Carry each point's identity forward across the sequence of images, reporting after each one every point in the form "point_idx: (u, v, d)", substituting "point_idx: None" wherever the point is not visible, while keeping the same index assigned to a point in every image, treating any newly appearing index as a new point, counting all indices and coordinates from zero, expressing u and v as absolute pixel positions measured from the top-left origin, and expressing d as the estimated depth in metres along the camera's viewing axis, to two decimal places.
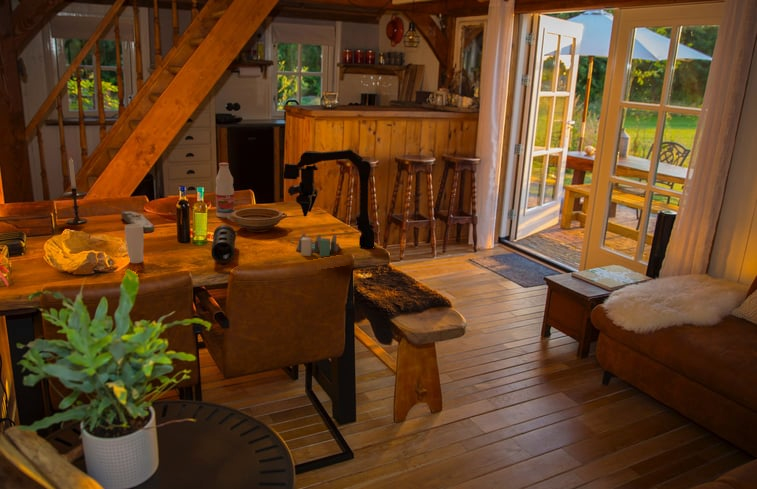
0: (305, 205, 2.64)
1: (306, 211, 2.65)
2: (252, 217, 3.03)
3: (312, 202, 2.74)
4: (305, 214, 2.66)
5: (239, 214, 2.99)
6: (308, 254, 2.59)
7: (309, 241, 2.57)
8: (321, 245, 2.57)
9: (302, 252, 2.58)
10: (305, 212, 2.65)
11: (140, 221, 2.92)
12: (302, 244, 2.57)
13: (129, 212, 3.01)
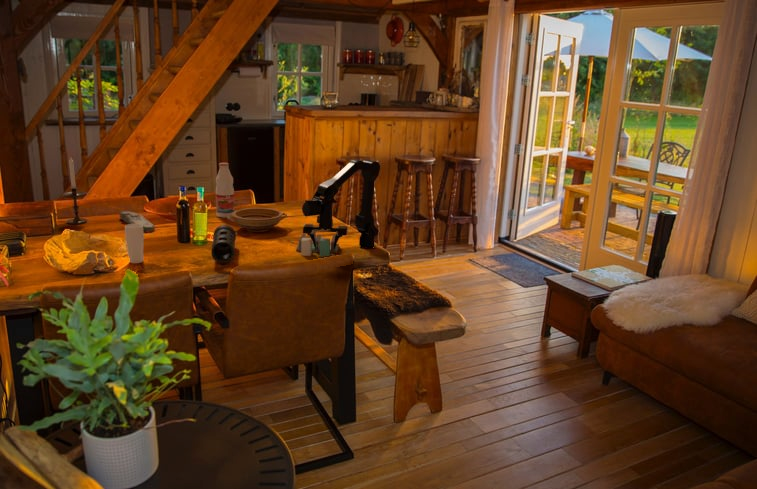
0: None
1: None
2: (252, 217, 3.03)
3: None
4: None
5: (239, 214, 2.99)
6: (308, 255, 2.59)
7: (309, 241, 2.57)
8: (321, 245, 2.57)
9: (302, 252, 2.58)
10: None
11: (140, 221, 2.92)
12: (302, 244, 2.57)
13: (128, 212, 3.00)
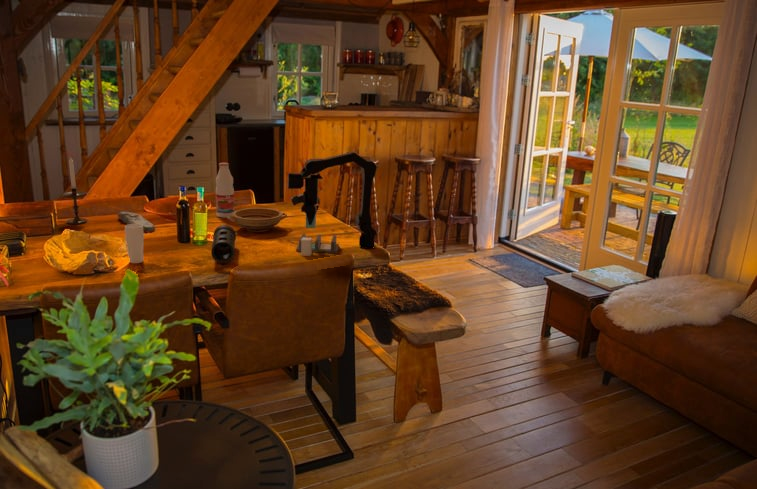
0: (310, 213, 2.61)
1: (311, 219, 2.62)
2: (252, 217, 3.03)
3: None
4: (310, 222, 2.63)
5: (239, 214, 2.99)
6: (308, 254, 2.59)
7: (309, 241, 2.57)
8: (315, 217, 2.63)
9: (302, 252, 2.58)
10: (310, 221, 2.62)
11: (139, 221, 2.91)
12: (302, 244, 2.57)
13: (126, 212, 3.00)
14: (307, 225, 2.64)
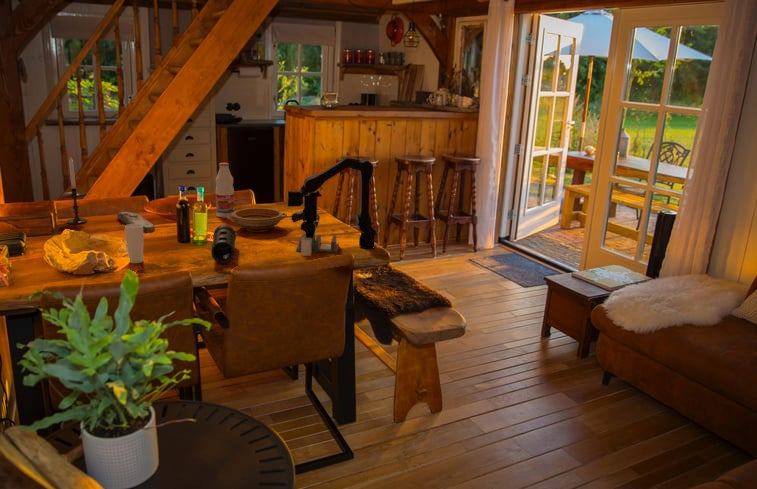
0: (309, 232, 2.62)
1: None
2: (252, 217, 3.03)
3: None
4: None
5: (239, 214, 2.99)
6: (308, 254, 2.59)
7: (309, 241, 2.57)
8: (314, 236, 2.66)
9: (302, 252, 2.58)
10: None
11: (139, 221, 2.91)
12: (302, 244, 2.57)
13: (126, 212, 3.00)
14: None
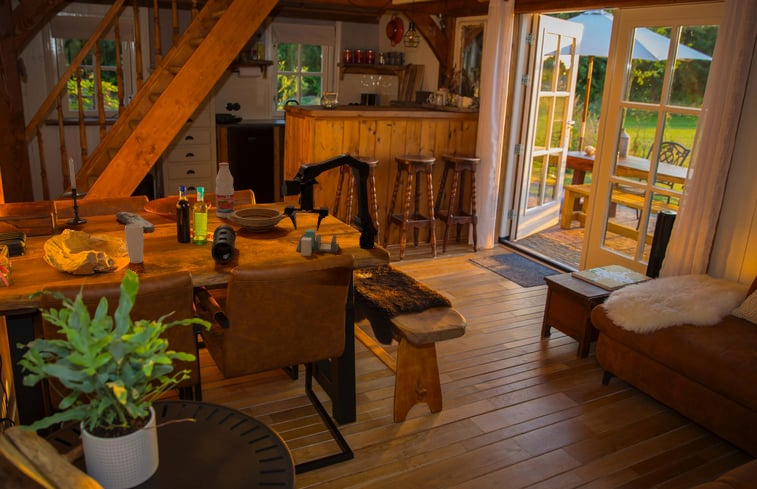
0: None
1: None
2: (252, 217, 3.03)
3: None
4: None
5: (239, 214, 2.99)
6: (308, 254, 2.59)
7: (309, 241, 2.57)
8: (314, 236, 2.66)
9: (302, 252, 2.58)
10: None
11: (138, 221, 2.91)
12: (302, 244, 2.57)
13: (125, 213, 3.00)
14: None
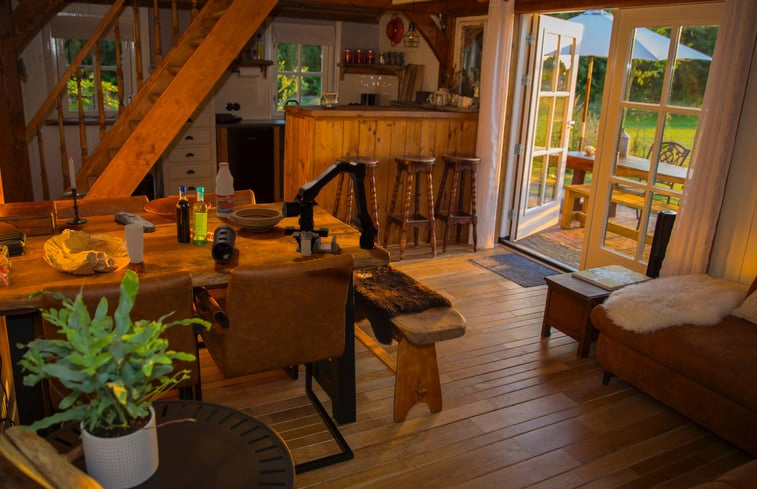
0: None
1: None
2: (252, 217, 3.03)
3: (311, 242, 2.58)
4: None
5: (239, 214, 2.99)
6: (308, 254, 2.59)
7: (309, 241, 2.57)
8: None
9: (302, 252, 2.58)
10: None
11: (138, 221, 2.91)
12: (302, 244, 2.57)
13: (123, 213, 2.99)
14: None
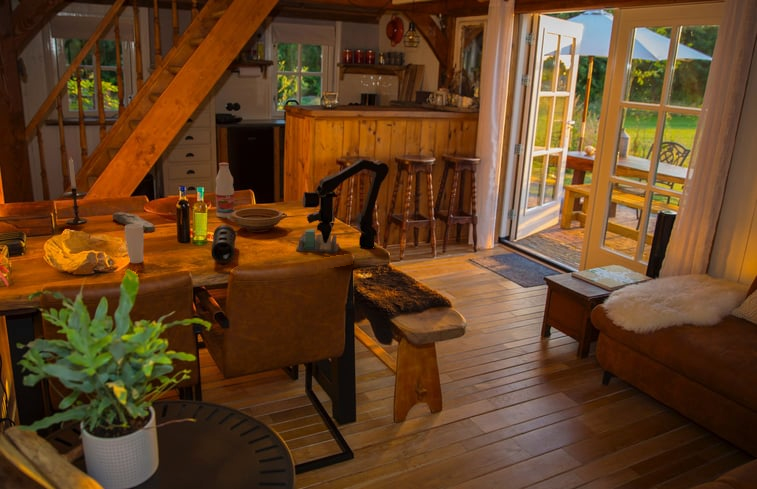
0: (326, 232, 2.63)
1: (326, 238, 2.64)
2: (252, 217, 3.03)
3: None
4: (325, 241, 2.65)
5: (239, 214, 2.99)
6: (330, 244, 2.70)
7: None
8: (314, 236, 2.66)
9: (330, 244, 2.67)
10: (325, 239, 2.64)
11: (137, 221, 2.91)
12: (330, 236, 2.66)
13: (122, 213, 2.99)
14: (307, 244, 2.67)
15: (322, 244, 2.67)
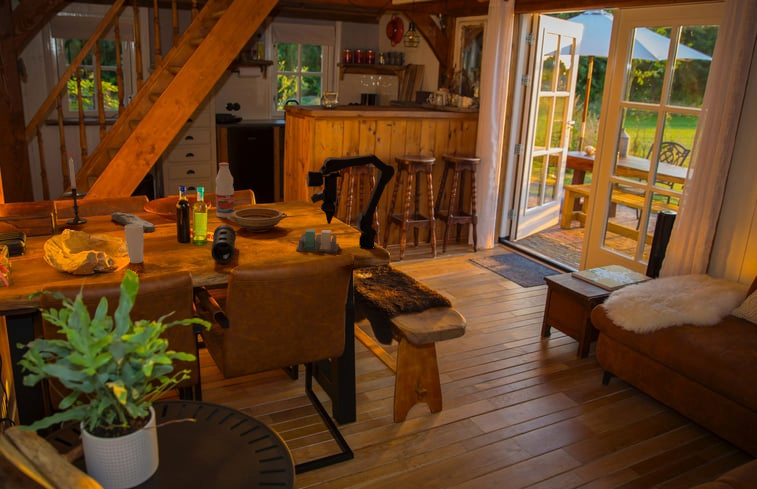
0: (329, 213, 2.60)
1: (330, 219, 2.61)
2: (252, 217, 3.03)
3: None
4: (329, 222, 2.62)
5: (239, 214, 2.99)
6: (330, 244, 2.70)
7: (330, 231, 2.69)
8: (314, 236, 2.66)
9: (330, 244, 2.67)
10: (329, 220, 2.62)
11: (137, 221, 2.91)
12: (330, 236, 2.66)
13: None
14: (307, 244, 2.67)
15: (322, 244, 2.67)
